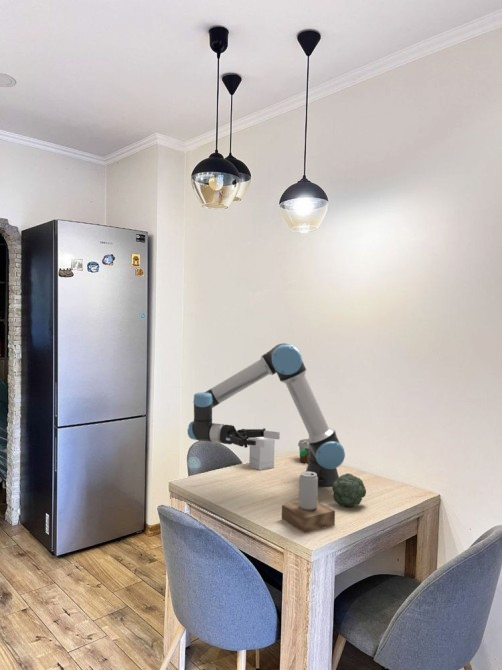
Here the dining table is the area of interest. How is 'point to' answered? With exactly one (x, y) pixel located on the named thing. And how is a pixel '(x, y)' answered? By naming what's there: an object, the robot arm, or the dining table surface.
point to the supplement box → (262, 455)
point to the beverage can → (308, 490)
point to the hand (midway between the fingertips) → (272, 439)
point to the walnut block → (308, 517)
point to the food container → (304, 450)
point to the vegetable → (348, 490)
